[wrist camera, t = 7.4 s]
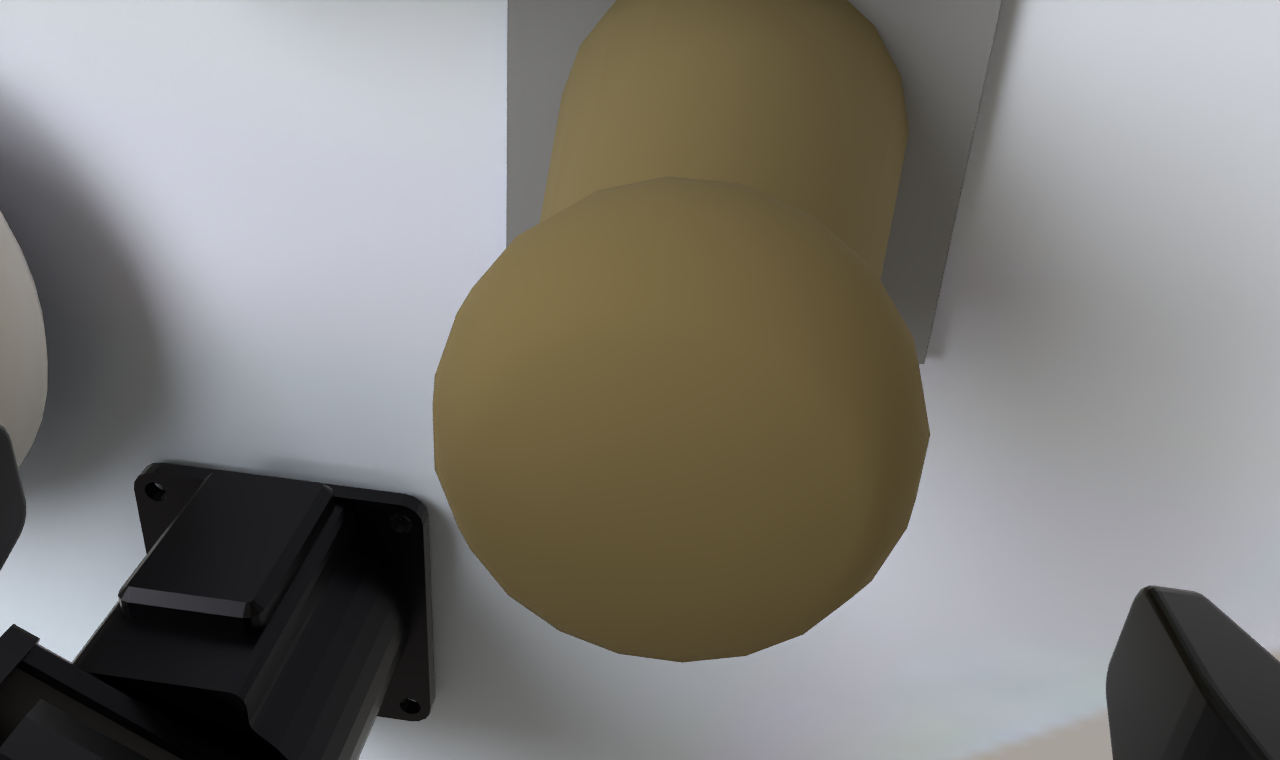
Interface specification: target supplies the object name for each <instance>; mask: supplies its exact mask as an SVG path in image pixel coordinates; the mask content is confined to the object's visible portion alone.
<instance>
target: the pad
mask: <svg viewBox="0 0 1280 760" xmlns="http://www.w3.org/2000/svg"><path fill="white" fill-rule="evenodd" d="M615 1H617V0H508V36H507V242H506V248H507V247H508V246H509V245H510V244H511V242H512V241H513V240H514V239H515V238H516V237H517V236H518V235H520V234H521V233H523V232H525V231H527V230H528V229H530V228H532V227H534V226H535V225H537V224H539V223H540V217H541V211H542V206H543V200H544V194H545V189H546V183H547V177H548V171H549V166H550V160H551V154H552V148H553V143H554V137H555V131H556V125H557V120H558V114H559V108H560V102H561V97H562V93H563V90H564V88H565V85H566V82H567V80H568V77H569V74H570V71H571V69H572V66H573V63H574V60H575V58H576V55H577V52H578V50H579V47H580V45H581V43H582V42H583V41H584V40H585V38H586V37H587V36H588V35H589V33H590V32H591V31H592V30H593V28H594V27H595V26H596V25H597V23H598V22H599V21H600V20H601V18H602V17H603V16H604V15H605V13H606V12H607V11H608V10H609V9H610V7H611V6H612V5H613V4H614V2H615ZM847 1H848V2H850V3H851V4H852V5H853V6H854V7H855V8H856V9H857V10H858V11H859V12H860V13H861V14H862V15H863V16H865V17H866V18H867V19H868V20H869V21H870V22H871V23H872V24H873V25H874V26H875V28H876V29H877V31H878V33H879V35H880V37H881V39H882V41H883V43H884V45H885V46H886V48H887V50H888V52H889V54H890V56H891V58H892V60H893V62H894V64H895V65H896V67H897V69H898V71H899V73H900V75H901V80H902V86H903V93H904V99H905V106H906V113H907V119H908V126H909V133H908V138H907V144H906V149H905V155H904V160H903V166H902V171H901V177H900V182H899V187H898V192H897V198H896V203H895V208H894V213H893V218H892V223H891V228H890V233H889V238H888V244H887V249H886V254H885V259H884V264H883V269H882V274H881V279H880V281H881V282H882V284H883V286H884V288H885V289H886V291H887V293H888V294H889V296H890V298H891V300H892V301H893V303H894V305H895V307H896V308H897V310H898V312H899V314H900V315H901V317H902V319H903V320H904V322H905V324H906V326H907V327H908V329H909V331H910V333H911V334H912V336H913V338H914V343H915V348H916V353H917V359H918V363H920V364H924V362H925V357H926V353H927V348H928V343H929V339H930V334H931V329H932V325H933V320H934V315H935V311H936V306H937V301H938V297H939V292H940V287H941V283H942V278H943V273H944V268H945V264H946V259H947V254H948V250H949V245H950V240H951V236H952V231H953V226H954V222H955V217H956V212H957V208H958V203H959V198H960V194H961V189H962V184H963V180H964V175H965V170H966V165H967V161H968V156H969V151H970V147H971V142H972V137H973V133H974V128H975V123H976V119H977V114H978V109H979V105H980V100H981V95H982V91H983V86H984V81H985V77H986V72H987V67H988V62H989V58H990V53H991V48H992V44H993V39H994V34H995V30H996V25H997V20H998V16H999V11H1000V6H1001V2H1002V0H847Z"/></svg>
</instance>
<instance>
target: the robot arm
mask: <svg viewBox="0 0 1280 760" xmlns="http://www.w3.org/2000/svg"><path fill="white" fill-rule="evenodd" d="M155 483H158V484H161V485H162V486H163V487H164V488H165V489H166V491H165V490H162V489H160V488H159V487H158V486H156V484H155ZM134 491H135V496H136V501H137V506H138V512H139V517H140V522H141V527H142V532H143V537H144V543H145V548H146V553H147V555H146V556H145V557H144V559H143V560H142V561H141V563H140V564H139V565H138V567H137V568H136V569H135V571H134V572H133V573H132V574H131V576H130V577H129V578H128V580H127V581H126V582H125V584H124V585H123V586H122V588H121V589H120V591H119V594H118V597H119V601H118V602H117V603H116V605H115V606H114V607H113V609H112V610H111V611H110V613H109V614H108V615H107V617H106V618H105V619H104V621H103V622H102V623H101V625H100V626H99V627H98V629H97V630H96V631H95V633H94V634H93V635H92V636H91V638H90V639H89V640H88V642H87V643H86V644H85V646H84V647H83V648H82V650H81V651H80V652H79V654H78V655H77V656H76V658H75V659H74V660H73V662H72V663H71V662H69V661H68V660H66V659H64V658H62V657H60V656H59V655H57V654H55V653H53V652H52V651H50V650H48V649H46V648H44V647H43V646H41V645H39V644H38V642H39V641H40V638H38V637H36V636H34V635H32V634H31V633H29V632H27V631H25V630H24V629H22V628H20V627H18V626H16V625H15V624H13V625H12V626H11V627H10V628H9V629H8V630H7V631H6V632H5V633H4V634H3V635H2V636H1V637H0V760H358V759H359V757H360V754H361V752H362V749H363V747H364V745H365V742H366V740H367V738H368V735H369V733H370V731H371V728H372V726H373V723H374V721H375V719H376V716H379V717H386V718H393V719H400V720H407V721H420V720H423V719H425V718H426V717H427V716H428V715H429V714H430V711H431V708H432V706H433V703H434V699H435V681H434V654H433V627H432V600H431V572H430V545H429V518H428V512H427V508H426V507H425V506H424V504H423V503H422V502H421V501H420V500H418V499H417V498H415V497H414V496H410V495H407V494H401V493H393V492H386V491H378V490H370V489H362V488H354V487H346V486H339V485H331V484H323V483H317V482H309V481H302V480H294V479H286V478H278V477H270V476H262V475H255V474H247V473H239V472H231V471H223V470H213V469H206V468H198V467H190V466H182V465H174V464H166V463H153V464H151V465H149V466H147V467H146V468H145V469H144V470H143V471H142V473H141V474H140V475H139V476H138V478H137V479H136V481H135V482H134ZM396 514H402V515H405V516H407V517H408V518H409V519H410V520H411V522H405V521H402V520H400V519H399V518H398V517H397V516H396ZM25 518H26V500H25V496H24V492H23V487H22V483H21V479H20V475H19V470H18V466H17V462H16V458H15V453H14V449H13V445H12V440H11V437H10V435H9V433H8V431H7V430H6V429H5V427H4V426H3V425H1V424H0V570H1V568H2V567H3V565H4V563H5V561H6V560H7V558H8V556H9V554H10V552H11V551H12V549H13V547H14V545H15V543H16V542H17V540H18V538H19V536H20V534H21V532H22V529H23V526H24V523H25ZM408 698H410V699H413V700H415V701H417V702H415V701H412V700H409V699H408ZM1106 700H1107V709H1108V718H1109V727H1110V737H1111V746H1112V754H1113V760H1280V662H1279V661H1278V660H1277V659H1276V658H1275V657H1274V656H1272V655H1271V654H1270V653H1269V652H1268V651H1267V650H1266V649H1265V648H1263V647H1262V646H1261V645H1260V644H1259V643H1258V642H1257V641H1255V640H1254V639H1253V638H1252V637H1251V636H1250V635H1249V634H1247V633H1246V632H1245V631H1244V630H1243V629H1242V628H1241V627H1239V626H1238V625H1237V624H1236V623H1235V622H1234V621H1233V620H1231V619H1230V618H1229V617H1228V616H1227V615H1226V614H1225V613H1223V612H1222V611H1221V610H1220V609H1219V608H1218V607H1217V606H1215V605H1214V604H1213V603H1212V602H1211V601H1210V600H1209V599H1207V598H1206V597H1205V596H1203V595H1202V594H1200V593H1197V592H1194V591H1188V590H1181V589H1174V588H1167V587H1160V586H1147V587H1145V588H1143V589H1141V590H1140V591H1139V593H1138V594H1137V595H1136V597H1135V599H1134V601H1133V603H1132V606H1131V608H1130V611H1129V613H1128V616H1127V619H1126V621H1125V624H1124V626H1123V629H1122V632H1121V634H1120V637H1119V639H1118V642H1117V645H1116V647H1115V650H1114V652H1113V655H1112V657H1111V660H1110V663H1109V667H1108V671H1107V678H1106Z"/></svg>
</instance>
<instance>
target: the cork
mask: <svg viewBox="0 0 1280 760" xmlns="http://www.w3.org/2000/svg"><path fill="white" fill-rule="evenodd" d="M908 133H909V126H908V119H907V113H906V106H905V99H904V93H903V86H902V80H901V75H900V73H899V71H898V69H897V67H896V65H895V64H894V62H893V60H892V58H891V56H890V54H889V52H888V50H887V48H886V46H885V45H884V43H883V41H882V39H881V37H880V35H879V33H878V31H877V29H876V28H875V26H874V25H873V24H872V23H871V22H870V21H869V20H868V19H867V18H866V17H865V16H863V15H862V14H861V13H860V12H859V11H858V10H857V9H856V8H855V7H854V6H853V5H852V4H851V3H850V2H848V1H847V0H617V1H615V2H614V4H613V5H612V6H611V7H610V9H609V10H608V11H607V12H606V13H605V15H604V16H603V17H602V18H601V20H600V21H599V22H598V23H597V25H596V26H595V27H594V28H593V30H592V31H591V32H590V33H589V35H588V36H587V37H586V38H585V40H584V41H583V42H582V43H581V45H580V47H579V50H578V52H577V55H576V58H575V60H574V63H573V66H572V69H571V71H570V74H569V77H568V80H567V82H566V85H565V88H564V90H563V93H562V97H561V102H560V108H559V114H558V120H557V125H556V131H555V137H554V143H553V148H552V154H551V160H550V166H549V171H548V177H547V183H546V189H545V194H544V200H543V206H542V211H541V217H540V223H539V224H537V225H535V226H534V227H532V228H530V229H528V230H527V231H525V232H523V233H521V234H520V235H518V236H517V237H516V238H515V239H514V240H513V241H512V242H511V244H510V245H509V246H508V247H507V248H506V249H505V251H504V252H503V253H502V254H501V255H500V256H499V258H498V259H497V260H496V261H495V262H494V263H493V265H492V266H491V267H490V268H489V269H488V270H487V272H486V273H485V274H484V275H483V276H482V277H481V279H480V280H479V281H478V282H477V283H476V284H475V286H474V287H473V288H472V289H471V291H470V293H469V294H468V296H467V298H466V299H465V301H464V302H463V304H462V306H461V307H460V309H459V311H458V312H457V315H456V317H455V320H454V323H453V326H452V329H451V332H450V334H449V337H448V340H447V343H446V346H445V349H444V351H443V354H442V357H441V360H440V363H439V366H438V368H437V371H436V374H435V381H434V395H433V430H434V459H435V471H436V473H437V476H438V478H439V481H440V483H441V485H442V488H443V490H444V493H445V495H446V498H447V500H448V503H449V505H450V508H451V510H452V513H453V515H454V518H455V520H456V523H457V525H458V528H459V530H460V531H461V533H462V535H463V537H464V539H465V540H466V542H467V544H468V546H469V548H470V549H471V551H472V552H473V553H474V554H475V555H476V557H477V558H478V559H479V560H480V561H481V563H482V564H483V565H484V566H485V567H486V569H487V570H488V571H489V572H490V574H491V575H492V576H493V577H494V578H495V580H496V581H497V582H498V583H499V584H500V586H501V587H502V588H503V589H504V590H505V592H506V593H507V594H508V595H509V596H510V597H512V598H513V599H515V600H516V601H517V602H519V603H520V604H522V605H523V606H525V607H526V608H527V609H529V610H530V611H532V612H533V613H535V614H536V615H537V616H539V617H540V618H542V619H543V620H545V621H546V622H547V623H549V624H550V625H552V626H553V627H555V628H556V629H557V630H559V631H561V632H564V633H566V634H569V635H572V636H574V637H577V638H579V639H582V640H585V641H587V642H590V643H592V644H595V645H598V646H600V647H603V648H605V649H608V650H611V651H613V652H616V653H618V654H625V655H632V656H640V657H647V658H654V659H662V660H669V661H676V662H690V661H700V660H710V659H720V658H730V657H739V656H746V655H749V654H752V653H755V652H757V651H760V650H763V649H765V648H768V647H771V646H773V645H776V644H779V643H781V642H784V641H787V640H789V639H792V638H795V637H797V636H800V635H803V634H804V633H806V632H807V631H808V630H810V629H811V628H812V627H813V626H815V625H816V624H817V623H819V622H820V621H821V620H823V619H824V618H825V617H827V616H828V615H829V614H831V613H832V612H833V611H835V610H836V609H837V608H839V607H840V606H841V605H843V604H844V603H845V602H846V601H848V600H849V599H850V598H852V597H853V596H854V595H855V594H856V593H858V592H859V591H860V590H861V589H862V588H864V587H865V586H866V585H867V584H868V583H870V582H871V581H872V579H873V578H874V577H875V575H876V574H877V572H878V571H879V569H880V568H881V566H882V565H883V563H884V562H885V560H886V559H887V557H888V556H889V554H890V553H891V551H892V550H893V548H894V547H895V545H896V544H897V542H898V541H899V539H900V538H901V536H902V535H903V533H904V532H905V530H906V529H907V526H908V523H909V520H910V516H911V513H912V510H913V507H914V503H915V500H916V496H917V491H918V487H919V482H920V478H921V473H922V469H923V464H924V460H925V455H926V451H927V446H928V442H929V437H930V431H929V425H928V419H927V413H926V407H925V401H924V395H923V388H922V382H921V376H920V370H919V364H918V359H917V353H916V348H915V343H914V338H913V336H912V334H911V333H910V331H909V329H908V327H907V326H906V324H905V322H904V320H903V319H902V317H901V315H900V314H899V312H898V310H897V308H896V307H895V305H894V303H893V301H892V300H891V298H890V296H889V294H888V293H887V291H886V289H885V288H884V286H883V284H882V282H881V281H880V279H881V274H882V269H883V264H884V259H885V254H886V249H887V244H888V238H889V233H890V228H891V223H892V218H893V213H894V208H895V203H896V198H897V192H898V187H899V182H900V177H901V171H902V166H903V160H904V155H905V149H906V144H907V138H908Z"/></svg>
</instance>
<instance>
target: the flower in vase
mask: <svg viewBox="0 0 1280 760" xmlns="http://www.w3.org/2000/svg"><path fill="white" fill-rule="evenodd" d="M47 377H48V359H47V346H46V337H45V329H44V321H43V314H42V309H41V305H40V302H39V298H38V294H37V290H36V287H35V283H34V280H33V277H32V275H31V272H30V270H29V267H28V265H27V262H26V260H25V258H24V255H23V253H22V250H21V248H20V246H19V244H18V242H17V240H16V238H15V237H14V235H13V233H12V231H11V229H10V227H9V226H8V224H7V222H6V220H5V218H4V216H3V214H2V213H1V211H0V424H1V425H3V426H4V427H5V429H6V430H7V431H8V433H9V435H10V437H11V440H12V445H13V449H14V453H15V458H16V462H17V466H18V468H19V467H20V465H21V463H22V462H23V460H24V459H25V457H26V455H27V454H28V452H29V451H30V449H31V447H32V446H33V443H34V441H35V438H36V435H37V433H38V430H39V427H40V425H41V422H42V419H43V413H44V408H45V402H46V397H47Z"/></svg>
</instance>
